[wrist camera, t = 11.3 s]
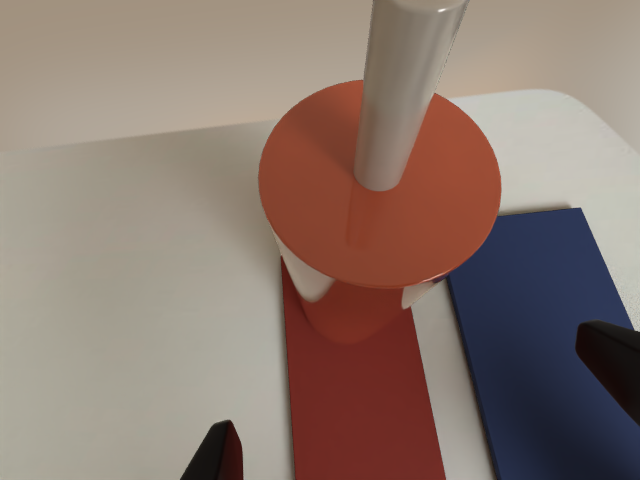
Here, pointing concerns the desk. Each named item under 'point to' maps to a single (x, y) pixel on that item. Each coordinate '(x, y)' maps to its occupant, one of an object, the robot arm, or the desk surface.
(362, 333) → the orange red candle
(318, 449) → the oxblood mat
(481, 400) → the navy mat
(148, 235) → the desk surface
